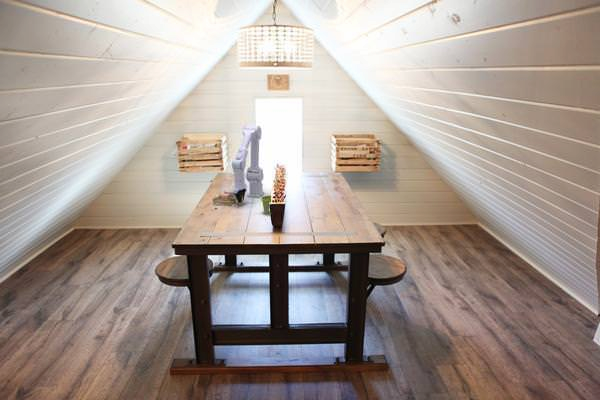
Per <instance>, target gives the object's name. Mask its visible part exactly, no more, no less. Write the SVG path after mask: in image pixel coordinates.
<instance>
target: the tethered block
mask: <svg viewBox="0 0 600 400" xmlns="http://www.w3.org/2000/svg"><path fill="white" fill-rule="evenodd" d="M220 197H221V201H229V202H231V194H226V193H223V194H222V195H220ZM231 204H232V205H237V206H243V204H244V201H243V197H242V202H241V203H238V202H231Z"/></svg>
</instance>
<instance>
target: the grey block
mask: <svg viewBox="0 0 600 400" xmlns="http://www.w3.org/2000/svg"><path fill="white" fill-rule="evenodd" d="M233 190H234V189H230V190H226V194H231V198H236V196H235V194H234V192H233Z"/></svg>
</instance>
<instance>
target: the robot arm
mask: <svg viewBox="0 0 600 400" xmlns="http://www.w3.org/2000/svg"><path fill="white" fill-rule="evenodd" d="M242 135H243V138H242V142H241V146H240V147H239V148H238V149H237V153H236V156H235V159H233V160H232V162H231V167H232V172H233V175H234V189H232V190H233V192H234V194H235V196H236V198H237V203H241V202H242V197H243V202H244V201H245V196H246V192H247V184H246V183H245V178H246V180H247V182H248V183H249V185H248V186H249V188H248V189H249V194H248V195H247V197H249V198H252V197H253V198H261V197H262V196H264V194H265V192H264V189H263V188H264V187H263V185H264V184H263V181H264V170H263V168H262V167H260V166H259V165H260V163H259V162H260V159H259V158H260V140H262V128H261V126H260V125H246V124H245V125H244V126H243V128H242ZM249 146H250V166H249V167H247V169H246V166H247V165H246V163H247V158H248V157H247V156H248V153H249V151H248V147H249ZM245 169H246V173H245Z"/></svg>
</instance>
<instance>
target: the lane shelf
mask: <svg viewBox="0 0 600 400" xmlns="http://www.w3.org/2000/svg"><path fill="white" fill-rule="evenodd" d="M226 192H227V190H223V191H222V192H221V193H219V194H217V195H216V196H214V197H213V198H212V204H213V206H221V207H224V206H225V207H231V206H232V205H233V204H231V202H232V203H238V201H237V198H231V202H229V201H221V197H220V195H222V194H223V193H226Z"/></svg>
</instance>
